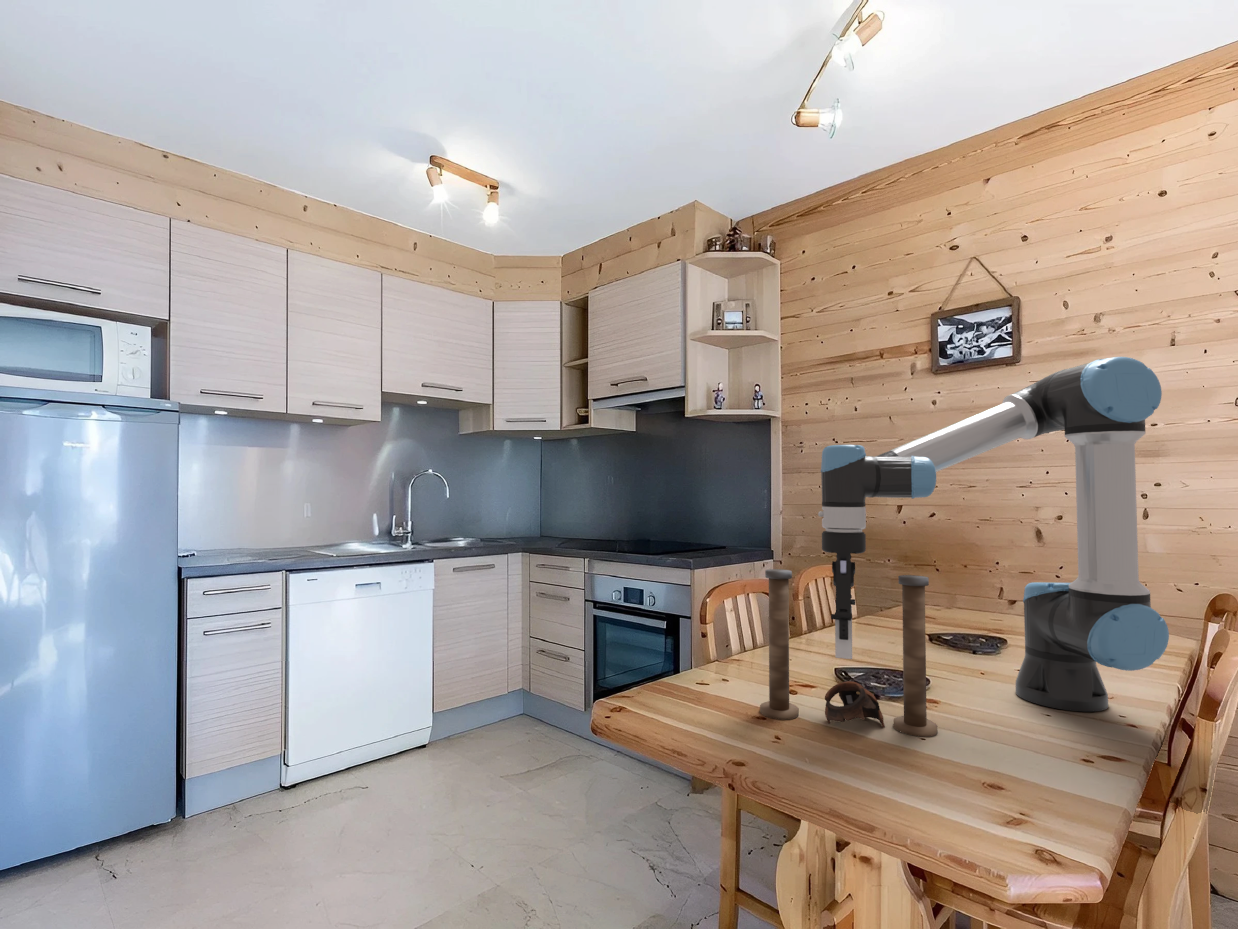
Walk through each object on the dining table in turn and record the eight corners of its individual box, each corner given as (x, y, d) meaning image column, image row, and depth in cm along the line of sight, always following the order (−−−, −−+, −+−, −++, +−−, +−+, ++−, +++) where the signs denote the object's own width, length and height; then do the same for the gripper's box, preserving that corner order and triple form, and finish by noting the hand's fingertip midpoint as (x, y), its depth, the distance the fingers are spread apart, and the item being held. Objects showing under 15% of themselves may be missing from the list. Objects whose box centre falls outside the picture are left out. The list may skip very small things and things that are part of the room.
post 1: (800, 709, 122) (799, 569, 123) (797, 721, 115) (796, 574, 116) (762, 704, 124) (761, 567, 125) (757, 716, 118) (756, 572, 119)
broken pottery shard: (896, 737, 110) (877, 698, 108) (844, 758, 111) (824, 720, 110) (873, 696, 122) (855, 660, 120) (826, 716, 123) (808, 681, 122)
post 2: (935, 724, 114) (933, 575, 115) (940, 739, 108) (938, 580, 108) (892, 719, 117) (890, 573, 117) (894, 733, 110) (892, 578, 111)
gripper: (824, 525, 130) (825, 632, 129) (818, 534, 107) (819, 664, 106) (864, 526, 128) (865, 635, 127) (867, 535, 104) (868, 669, 103)
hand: (844, 648), depth 116 cm, fingers open, 13 cm apart
